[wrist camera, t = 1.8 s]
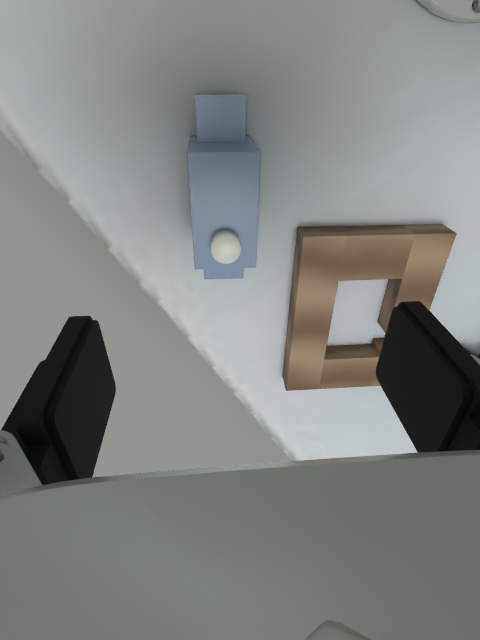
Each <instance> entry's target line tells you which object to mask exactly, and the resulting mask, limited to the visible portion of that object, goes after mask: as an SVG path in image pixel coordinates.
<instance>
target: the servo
mask: <svg viewBox="0 0 480 640" xmlns="http://www.w3.org/2000/svg"><path fill="white" fill-rule="evenodd" d="M195 110H196V129H197V136H190V140H189V145H188V150H187V160H188V174H189V189H190V204H191V219H192V234H193V249H194V264H195V269H204V279H232V278H243V272H244V268H255V267H256V254H257V227H258V200H259V173H260V151H259V149H258V148H257V147H256V145H255V144H254V142H253V141H252V139H251V138H250V137H249V136H246V95H209V94H195Z"/></svg>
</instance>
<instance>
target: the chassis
mask: <svg viewBox="0 0 480 640" xmlns="http://www.w3.org/2000/svg"><path fill="white" fill-rule="evenodd" d="M456 234H457V233H455V232H454V231H452V230H451V229H449V228H447V227H446V226H444V225H443V224H438V225H389V226H341V227H298V229H297V239H296V249H295V259H294V268H293V278H292V288H291V298H290V308H289V318H288V328H287V338H286V348H285V358H284V368H283V380H284V384H285V388H286V391H289V390H308V389H327V388H345V387H364V386H381V385H380V383H379V382H378V380H377V377H376V367H377V363H378V360H379V356H380V352H381V349H382V345H383V342H384V338H377V339H373V341H372V344H366V345H344V346H327V341H328V335H329V329H330V324H331V318H332V313H333V307H334V302H335V296H336V291H337V285H338V281H343V280H375V279H389V281H388V285H387V289H386V293H385V296H384V300H383V304H382V307H381V311H380V315H379V319H378V323H379V325H380V326H381V328H382V329H383V330H384V332H385V333H386V331H387V327H388V324H389V320H390V316H391V313H392V310H393V308H394V307H396V306H398V304H399V303H400V302H407V301H420V302H421V303H423V305H424V306H425V307H426V308H427V309H428V310H429V309H430V306H431V304H432V301H433V298H434V295H435V293H436V290H437V287H438V284H439V281H440V279H441V276H442V273H443V270H444V267H445V265H446V262H447V259H448V256H449V253H450V251H451V248H452V245H453V242H454V239H455V237H456Z"/></svg>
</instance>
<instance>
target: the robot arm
mask: <svg viewBox="0 0 480 640" xmlns="http://www.w3.org/2000/svg"><path fill="white" fill-rule="evenodd" d="M417 1H418V2H419V3H420V4H421V5H422V6H424V7H425V8H426V9H428V10H429V11H430V12H432V13H433V14H434V15H437V16H439V17H442V18H444V19H447V20H450V21H455V22H466V23H472V22H479V21H480V0H417ZM473 2H474V6H473V8H472V3H473ZM376 377H377V380H378V382H379V383H380V385H381V387H382V389H383V391H384V392H385V394H386V396H387V398H388V400H389V401H390V403H391V405H392V407H393V408H394V410H395V412H396V414H397V416H398V417H399V419H400V421H401V423H402V425H403V426H404V428H405V430H406V432H407V434H408V435H409V437H410V439H411V441H412V443H413V444H414V446H415V448H416V450H417V452H418V453H407V454H392V455H377V456H362V457H347V458H332V459H318V460H304V461H290V462H277V463H264V464H249V465H236V466H223V467H210V468H198V469H184V470H171V471H158V472H146V473H135V474H124V475H114V476H103V477H92V476H93V472H94V468H95V465H96V461H97V458H98V454H99V451H100V447H101V443H102V440H103V436H104V432H105V429H106V425H107V422H108V418H109V415H110V411H111V408H112V404H113V400H114V396H115V391H116V387H115V381H114V378H113V374H112V370H111V367H110V363H109V359H108V356H107V352H106V349H105V345H104V341H103V337H102V333H101V330H100V326H99V323H98V321H97V320H92V318H91V317H90V316H74V317H69V318H68V320H67V322H66V323H65V325H64V327H63V329H62V331H61V333H60V334H59V336H58V338H57V340H56V342H55V343H54V345H53V347H52V349H51V351H50V352H49V354H48V356H47V358H46V360H44V361H41V362H40V363H39V365H38V366H37V368H36V370H35V371H34V373H33V375H32V377H31V378H30V380H29V382H28V384H27V386H26V387H25V389H24V391H23V392H22V394H21V396H20V398H19V400H18V401H17V403H16V405H15V407H14V408H13V410H12V412H11V414H10V415H9V417H8V419H7V421H6V422H5V424H4V426H3V428H2V430H0V640H480V365H479V364H478V362H477V361H476V360H475V359H474V358H473V357H472V356H471V355H470V354H469V353H468V352H467V351H466V350H465V349H464V347H463V346H462V345H461V344H460V343H459V342H458V341H457V340H456V339H455V338H454V337H453V336H452V335H451V333H450V332H449V331H448V330H447V329H446V328H445V327H444V326H443V325H442V324H441V323H440V322H439V321H438V320H437V318H436V317H435V316H434V315H433V314H432V313H431V312H430V311H429V310H428V309H427V308H426V307H425V306H424V305H423V303H421V302H420V301H407V302H400V303H399V304H398V306H396V307H394V308H393V310H392V313H391V316H390V320H389V324H388V327H387V331H386V334H385V338H384V342H383V345H382V349H381V352H380V356H379V360H378V363H377V367H376Z"/></svg>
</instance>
